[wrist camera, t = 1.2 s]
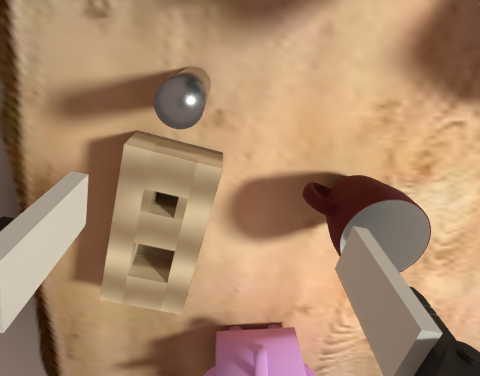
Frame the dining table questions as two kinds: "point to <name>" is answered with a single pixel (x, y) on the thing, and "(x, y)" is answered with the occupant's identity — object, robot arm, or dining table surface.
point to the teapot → (258, 353)
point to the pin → (182, 98)
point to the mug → (373, 216)
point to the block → (159, 221)
